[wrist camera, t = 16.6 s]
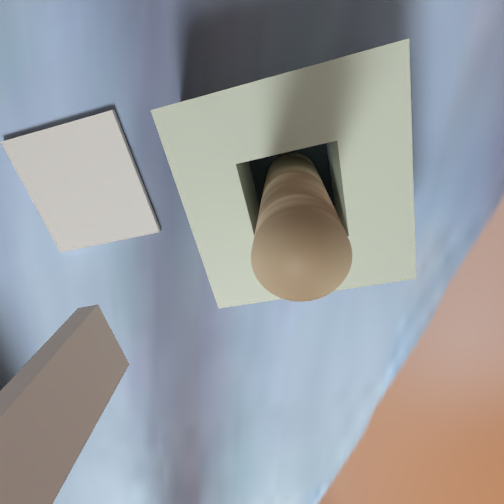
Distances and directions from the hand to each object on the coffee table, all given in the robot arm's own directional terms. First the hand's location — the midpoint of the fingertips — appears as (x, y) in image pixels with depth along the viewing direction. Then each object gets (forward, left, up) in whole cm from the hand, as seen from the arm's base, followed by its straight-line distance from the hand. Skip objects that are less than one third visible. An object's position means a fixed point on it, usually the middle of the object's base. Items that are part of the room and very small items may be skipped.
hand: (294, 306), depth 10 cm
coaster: (-17, +3, -17) cm, 24 cm away
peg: (0, 0, -17) cm, 17 cm away
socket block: (0, 0, -17) cm, 17 cm away
